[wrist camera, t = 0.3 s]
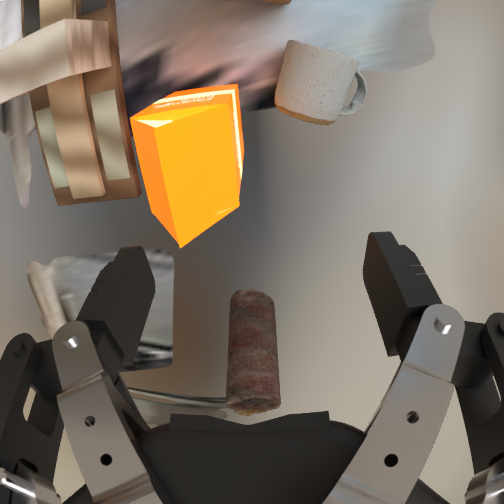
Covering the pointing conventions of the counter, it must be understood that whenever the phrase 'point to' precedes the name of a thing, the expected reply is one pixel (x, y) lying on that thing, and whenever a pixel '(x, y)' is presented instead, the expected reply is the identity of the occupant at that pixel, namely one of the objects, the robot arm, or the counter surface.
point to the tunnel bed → (95, 88)
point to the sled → (72, 116)
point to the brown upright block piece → (252, 354)
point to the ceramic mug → (317, 84)
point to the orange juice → (191, 157)
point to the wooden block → (278, 1)
